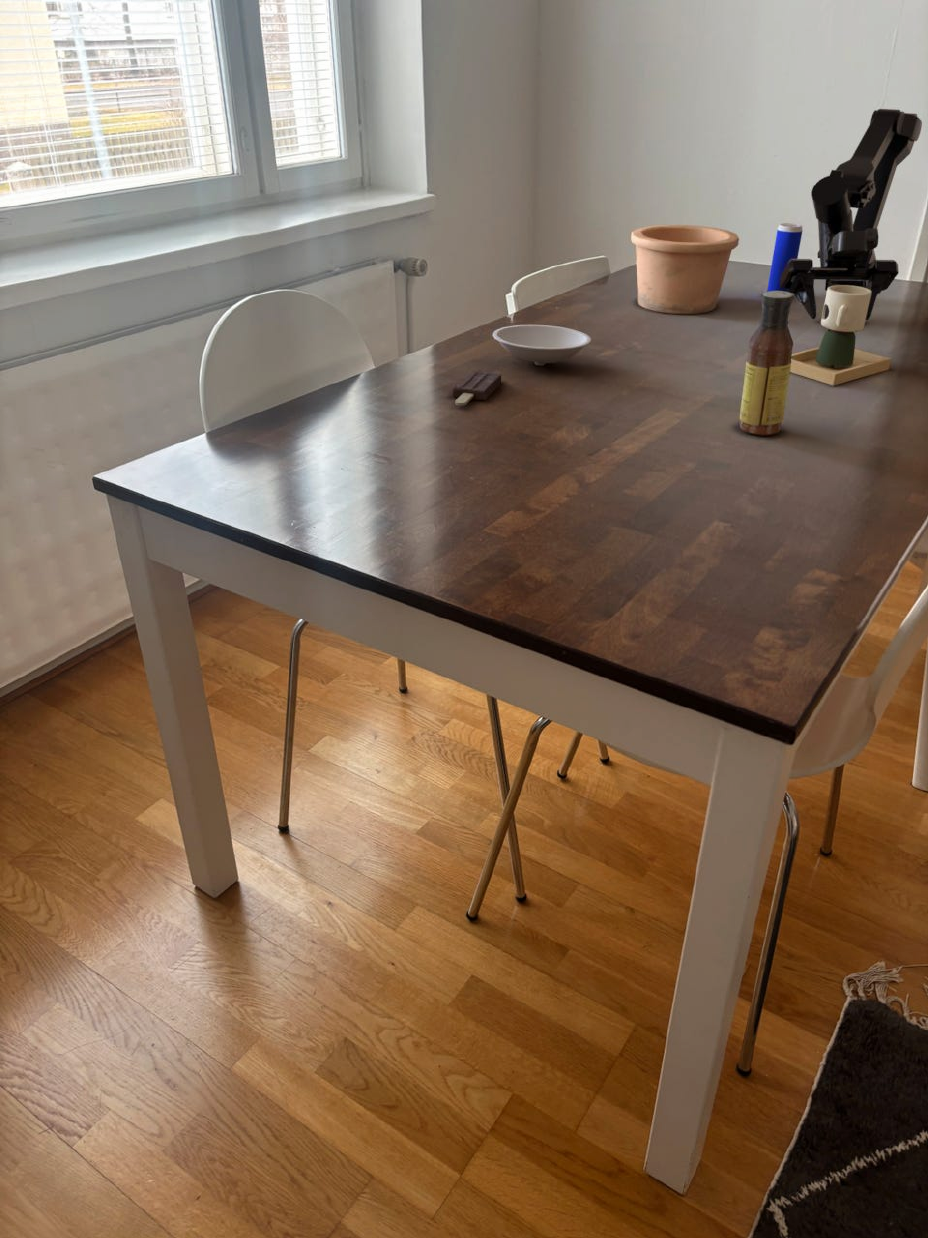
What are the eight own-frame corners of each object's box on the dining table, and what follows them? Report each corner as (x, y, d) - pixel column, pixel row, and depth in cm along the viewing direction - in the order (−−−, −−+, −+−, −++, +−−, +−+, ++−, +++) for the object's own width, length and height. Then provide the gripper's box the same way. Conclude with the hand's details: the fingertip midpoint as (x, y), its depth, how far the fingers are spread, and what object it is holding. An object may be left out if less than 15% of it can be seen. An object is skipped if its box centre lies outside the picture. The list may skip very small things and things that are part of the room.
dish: (478, 368, 167) (478, 340, 165) (510, 347, 178) (510, 320, 176) (573, 382, 161) (575, 353, 158) (600, 359, 172) (602, 331, 170)
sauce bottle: (781, 425, 145) (807, 290, 134) (779, 439, 140) (805, 300, 129) (737, 420, 146) (759, 286, 136) (733, 434, 141) (755, 296, 131)
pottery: (652, 287, 219) (659, 220, 211) (744, 302, 208) (755, 232, 200) (607, 306, 204) (613, 235, 196) (703, 323, 193) (713, 248, 185)
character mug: (817, 354, 174) (832, 280, 167) (858, 359, 171) (875, 284, 164) (807, 370, 166) (822, 293, 159) (850, 376, 163) (867, 298, 156)
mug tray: (777, 368, 168) (779, 356, 167) (833, 353, 176) (835, 342, 175) (833, 385, 160) (835, 374, 159) (888, 369, 168) (891, 358, 167)
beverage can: (787, 294, 214) (800, 223, 206) (792, 300, 210) (805, 227, 202) (764, 293, 214) (776, 222, 206) (768, 299, 210) (780, 226, 202)
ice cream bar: (474, 411, 149) (502, 382, 161) (474, 400, 148) (502, 372, 160) (443, 407, 151) (473, 378, 163) (443, 397, 150) (473, 369, 162)
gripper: (797, 208, 161) (801, 292, 158) (909, 210, 161) (915, 293, 157) (777, 248, 172) (781, 326, 169) (882, 249, 171) (888, 328, 168)
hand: (840, 318), depth 165 cm, fingers open, 9 cm apart
